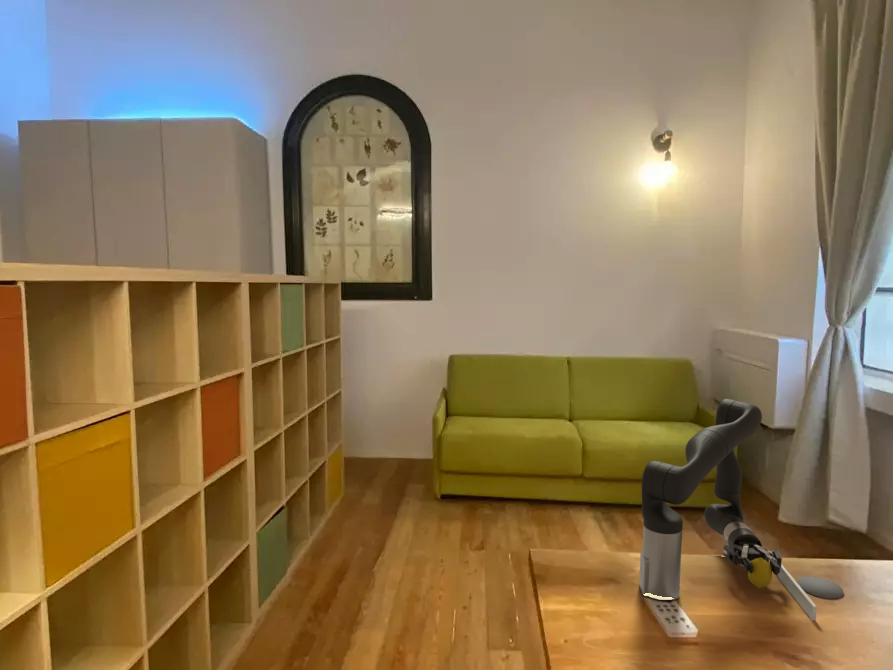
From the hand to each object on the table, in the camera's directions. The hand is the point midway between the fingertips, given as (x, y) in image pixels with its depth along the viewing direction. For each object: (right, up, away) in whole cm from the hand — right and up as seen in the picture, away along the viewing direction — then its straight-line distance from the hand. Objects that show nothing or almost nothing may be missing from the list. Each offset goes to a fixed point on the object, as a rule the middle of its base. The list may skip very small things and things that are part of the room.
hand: (764, 570), depth 154 cm
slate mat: (+17, -7, +5) cm, 19 cm away
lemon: (0, -6, +3) cm, 7 cm away
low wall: (+8, -7, +2) cm, 11 cm away
